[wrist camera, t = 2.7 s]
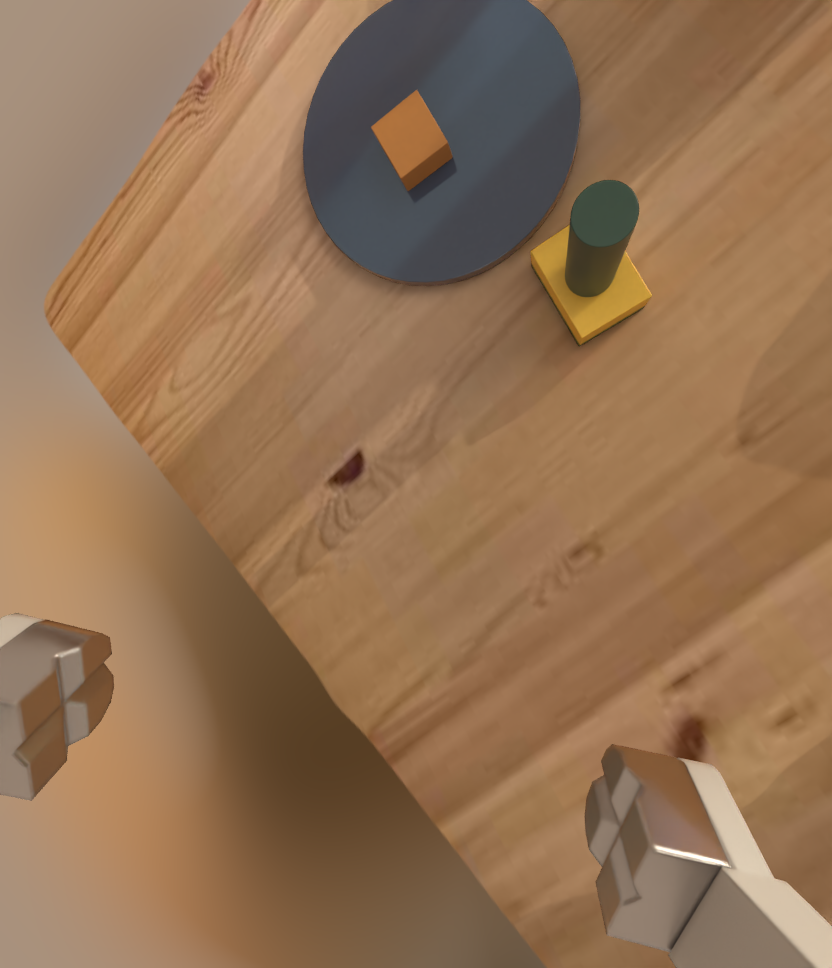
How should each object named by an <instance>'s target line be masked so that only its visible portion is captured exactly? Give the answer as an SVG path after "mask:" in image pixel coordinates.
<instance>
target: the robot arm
mask: <svg viewBox="0 0 832 968" xmlns="http://www.w3.org/2000/svg"><path fill="white" fill-rule="evenodd" d="M111 654H112V651H111V642H110V637H108V636H106V635H104V634H102V633H99V632H95V631H90V630H87V629H82V628H78V627H74V626H70V625H66V624H62V623H58V622H54V621H50V620H43V619H39V618H35V617H31V616H27V615H23V614H19V613H15V614H11V615H7V616H4V617H2V618H1V619H0V794H1V795H6V796H11V797H16V798H21V799H26V800H32V799H33V798H34V797H35V796H36V795H37V794H38V792H40V790H41V789H42V788H43V787H44V786H45V785H46V784H47V782H48V781H49V780H50V779H51V778H52V777H53V776H54V775H55V773H56V772H57V771H58V770H59V769H60V768H61V767H62V765H63V764H64V763H65V762H66V761H67V752H68V746H69V745H71V744H73V743H75V742H77V741H79V740H81V739H83V738H85V737H87V736H89V734H90V733H91V732H92V731H93V730H94V729H95V727H96V726H97V725H98V724H99V723H100V721H101V720H102V718H103V716H104V714H105V712H106V710H107V708H108V706H109V704H110V703H111V699H112V694H113V689H114V679H113V674H112V673H111V672H110V671H109V669H108V668H107V666H106V665H105V664H104V662H105V660H106V659H107V658H108V657H109V656H110V655H111ZM601 763H602V767H603V771H604V775H603V776H601V777H600V778H598V779H596V780H594V781H593V782H592V784H591V787H590V790H589V792H588V795H587V799H586V808H585V829H586V836H587V842H588V847H589V850H590V852H591V853H592V854H593V856H594V857H595V858H596V860H597V861H598V862H599V864H600V865H601V866H602V869H601V871H600V874H599V876H598V878H597V880H596V886H597V891H598V896H599V901H600V906H601V910H602V915H603V920H604V925H605V929H606V934H607V935H608V936H611V937H615V938H619V939H623V940H626V941H630V942H634V943H638V944H641V945H645V946H649V947H653V948H656V949H660V950H664V951H668V952H670V953H669V955H668V956H669V957H670V959H671V960H672V962H673V963H674V965H675V967H676V968H832V926H831V925H830V924H829V923H828V922H827V921H826V920H825V919H824V918H823V917H822V916H821V915H820V914H819V913H818V912H817V911H816V910H815V909H814V908H813V907H812V906H811V905H810V904H809V903H808V902H806V901H805V900H804V899H803V898H802V897H801V896H800V895H799V894H798V893H797V892H796V891H795V890H794V889H793V888H792V887H791V886H790V885H789V884H788V883H787V882H786V881H782V880H778V879H774V877H773V875H772V873H771V871H770V869H769V867H768V865H767V863H766V861H765V859H764V857H763V855H762V853H761V851H760V850H759V848H758V846H757V844H756V842H755V840H754V838H753V836H752V834H751V832H750V830H749V828H748V826H747V824H746V822H745V820H744V819H743V817H742V815H741V813H740V811H739V809H738V807H737V805H736V803H735V801H734V799H733V797H732V795H731V793H730V791H729V789H728V787H727V786H726V784H725V782H724V780H723V778H722V776H721V774H720V772H719V771H718V770H717V769H716V768H715V767H714V766H713V765H711V764H707V763H702V762H697V761H692V760H687V759H682V758H675V757H672V756H667V755H662V754H657V753H653V752H648V751H643V750H638V749H633V748H629V747H624V746H619V745H614V744H612V745H611V746H610V747H608V748H607V749H606V751H605V753H604V756H603V758H602V760H601Z"/></svg>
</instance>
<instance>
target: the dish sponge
mask: <svg viewBox="0 0 832 968" xmlns="http://www.w3.org/2000/svg"><path fill="white" fill-rule="evenodd" d="M638 216H639V203H638V199H637V197H636V195H635V193H634V192H633V190H632V189H631V188H630V187H629V186H627V185H626V184H624V183H622V182H619V181H615V180H604V181H600V182H597V183H594V184H592V185H590V186H589V187H587V188H586V189H585V190H584V191H583V192H582V193H581V194H580V195H579V196H578V197H577V199H576V201H575V203H574V205H573V207H572V211H571V218H570V225H568V226H567V227H565V228H564V229H562V230H561V231H559V232H558V233H557V234H555V235H554V236H552V237H551V238H549V239H548V240H546V241H545V242H543V243H542V244H540V245H539V246H537V247H536V248H534V249H533V250H531V251H530V253H531V264H532V268H533V269H534V271H535V273H536V274H537V276H538V278H539V280H540V281H541V283H542V285H543V286H544V288H545V290H546V291H547V293H548V295H549V296H550V298H551V300H552V302H553V303H554V305H555V307H556V308H557V310H558V312H559V313H560V315H561V317H562V318H563V320H564V322H565V324H566V325H567V327H568V329H569V330H570V332H571V334H572V335H573V337H574V339H575V340H576V342H577V344H578V346H581V345H583V344H584V343H586V342H588V341H589V340H591V339H593V338H594V337H596V336H598V335H599V334H601V333H603V332H604V331H606V330H608V329H609V328H611V327H613V326H614V325H616V324H618V323H619V322H621V321H623V320H624V319H626V318H628V317H629V316H631V315H633V314H634V313H636V312H638V311H639V310H641V309H642V308H644V306H645V305H646V304H647V302H648V301H649V299H650V298H651V296H652V295H651V293H650V291H649V290H648V288H647V286H646V285H645V283H644V281H643V280H642V278H641V276H640V275H639V273H638V271H637V270H636V268H635V266H634V265H633V263H632V261H631V260H630V258H629V257H628V255H627V253H626V252H625V250H626V247H627V245H628V242H629V240H630V237H631V235H632V232H633V230H634V227H635V225H636V222H637V220H638Z"/></svg>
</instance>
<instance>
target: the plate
mask: <svg viewBox="0 0 832 968" xmlns="http://www.w3.org/2000/svg"><path fill="white" fill-rule="evenodd" d="M416 90H417V91H418V92H419V94H420V96H421V97H422V99H423V101H424V102H425V104H426V106H427V107H428V109H429V111H430V113H431V114H432V116H433V118H434V119H435V121H436V123H437V124H438V126H439V128H440V129H441V131H442V133H443V135H444V136H445V138H446V140H447V141H448V144H449V147H450V150H451V153H452V156H453V158H452V159H450V160H449V161H448V162H446V163H445V164H444V165H442V166H441V167H440V168H438V169H437V170H436V171H434V172H433V173H432V174H430V175H429V176H428V177H427V178H425V179H424V180H423V181H421V182H420V183H419V184H417V185H416V186H415V187H413V188H412V189H411V190H409V191H407V189H406V188H405V186H404V184H403V183H402V181H401V179H400V177H399V176H398V174H397V172H396V170H395V169H394V167H393V165H392V164H391V162H390V160H389V158H388V157H387V155H386V153H385V152H384V150H383V148H382V146H381V145H380V143H379V141H378V139H377V138H376V136H375V134H374V132H373V130H372V129H371V127H372V126H373V125H374V124H375V123H376V122H378V121H379V120H380V119H381V118H383V117H384V116H385V115H386V114H387V113H389V112H390V111H391V110H392V109H394V108H395V107H396V106H397V105H398V104H400V103H401V102H402V101H403V100H405V99H406V98H407V97H408V96H409V95H411V94H412V93H413V92H414V91H416ZM579 128H580V93H579V86H578V79H577V75H576V72H575V68H574V65H573V61H572V58H571V56H570V54H569V52H568V49H567V47H566V45H565V43H564V41H563V39H562V38H561V36H560V35H559V33H558V32H557V30H556V29H555V27H554V26H553V24H552V23H551V22H550V21H549V20H548V19H547V18H546V17H545V16H544V14H543V13H542V12H541V11H540V10H538V9H537V8H536V7H535V6H533V5H532V4H531V3H529V2H528V1H527V0H392V1H391V2H389V3H387V4H385V5H384V6H382V7H381V8H380V9H378V10H377V11H376V12H374V13H373V14H371V15H370V16H369V17H368V18H367V19H365V20H364V21H363V22H362V23H361V24H360V25H359V26H358V27H357V28H356V29H355V30H354V31H353V32H352V33H351V34H350V35H349V36H348V38H347V39H346V40H345V41H344V42H343V43H342V45H341V46H340V47H339V49H338V50H337V52H336V53H335V55H334V56H333V57H332V59H331V60H330V62H329V64H328V66H327V67H326V69H325V71H324V73H323V75H322V77H321V79H320V81H319V83H318V86H317V88H316V90H315V93H314V95H313V98H312V102H311V105H310V108H309V112H308V116H307V121H306V126H305V132H304V144H303V163H304V174H305V180H306V186H307V190H308V194H309V197H310V201H311V204H312V206H313V208H314V211H315V213H316V215H317V218H318V220H319V221H320V223H321V225H322V226H323V228H324V230H325V231H326V233H327V234H328V236H329V237H330V238H331V239H332V241H333V242H334V243H335V244H336V246H337V247H338V248H339V249H340V250H342V251H343V252H344V253H345V254H346V255H347V256H348V257H349V258H350V259H351V260H352V261H353V262H355V263H356V264H358V265H359V266H360V267H362V268H363V269H365V270H366V271H368V272H370V273H372V274H374V275H376V276H378V277H380V278H383V279H386V280H389V281H392V282H395V283H401V284H406V285H412V286H434V285H444V284H449V283H453V282H458V281H462V280H465V279H468V278H470V277H473V276H475V275H478V274H481V273H483V272H484V271H486V270H488V269H490V268H492V267H494V266H496V265H497V264H499V263H500V262H502V261H503V260H505V259H506V258H507V257H509V256H510V255H512V254H513V253H514V252H516V251H517V250H518V249H519V248H520V247H521V246H522V245H523V244H524V243H526V242H527V241H528V240H529V239H530V238H531V237H532V235H533V234H534V233H535V232H536V231H537V230H538V229H539V227H540V226H541V225H542V224H543V223H544V221H545V220H546V218H547V217H548V215H549V214H550V212H551V211H552V209H553V208H554V206H555V205H556V203H557V201H558V199H559V197H560V195H561V193H562V191H563V189H564V187H565V185H566V182H567V180H568V177H569V174H570V172H571V169H572V166H573V162H574V158H575V154H576V150H577V144H578V136H579Z"/></svg>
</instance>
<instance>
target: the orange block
mask: <svg viewBox="0 0 832 968" xmlns="http://www.w3.org/2000/svg"><path fill="white" fill-rule="evenodd" d="M371 129H372V130H373V132H374V134H375V136H376V138H377V139H378V141H379V143H380V145H381V146H382V148H383V150H384V152H385V153H386V155H387V157H388V158H389V160H390V162H391V164H392V165H393V167H394V169H395V170H396V172H397V174H398V176H399V177H400V179H401V181H402V183H403V184H404V186H405V188H406V189H407V191H409V190H411V189H412V188H413V187H415V186H416V185H417V184H419V183H420V182H421V181H423V180H424V179H425V178H427V177H428V176H429V175H430V174H432V173H433V172H434V171H436V170H437V169H438V168H440V167H441V166H442V165H444V164H445V163H446V162H448V161H449V160H450V159H452V158H453V156H452V153H451V150H450V147H449V144H448V141H447V140H446V138H445V136H444V135H443V133H442V131H441V129H440V128H439V126H438V124H437V123H436V121H435V119H434V118H433V116H432V114H431V113H430V111H429V109H428V107H427V106H426V104H425V102H424V101H423V99H422V97H421V96H420V94H419V92H418V91H417V90H416V91H414V92H413V93H412V94H411V95H409V96H408V97H407V98H406V99H405V100H403V101H402V102H401V103H400V104H398V105H397V106H396V107H395V108H394V109H392V110H391V111H390V112H389V113H387V114H386V115H385V116H384V117H383V118H381V119H380V120H379V121H378V122H376V123H375V124H374V125H373V126H372V127H371Z"/></svg>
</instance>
